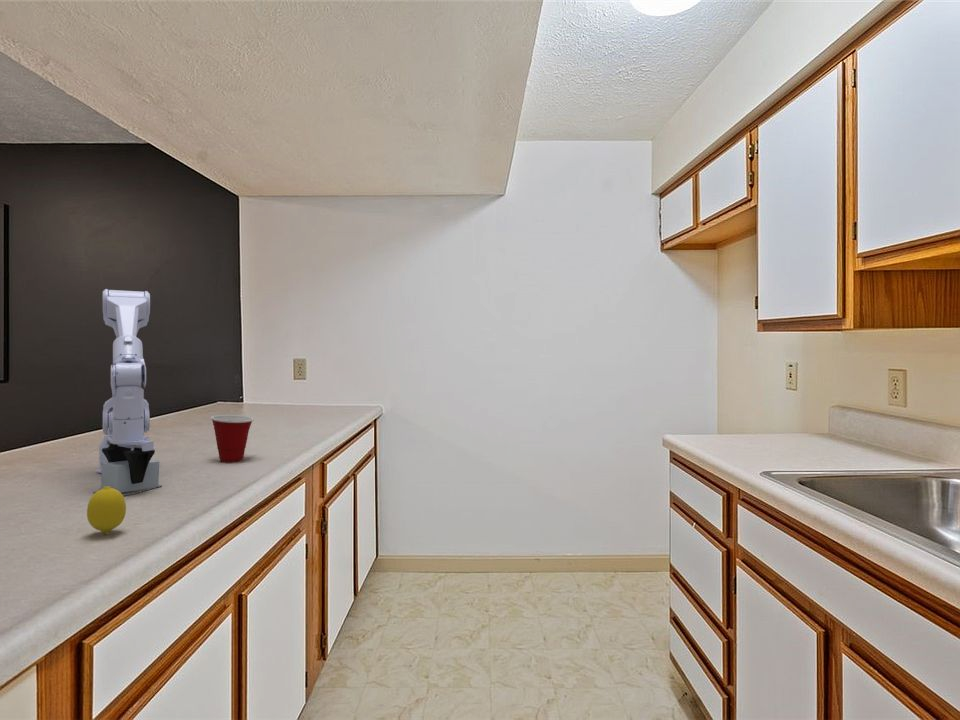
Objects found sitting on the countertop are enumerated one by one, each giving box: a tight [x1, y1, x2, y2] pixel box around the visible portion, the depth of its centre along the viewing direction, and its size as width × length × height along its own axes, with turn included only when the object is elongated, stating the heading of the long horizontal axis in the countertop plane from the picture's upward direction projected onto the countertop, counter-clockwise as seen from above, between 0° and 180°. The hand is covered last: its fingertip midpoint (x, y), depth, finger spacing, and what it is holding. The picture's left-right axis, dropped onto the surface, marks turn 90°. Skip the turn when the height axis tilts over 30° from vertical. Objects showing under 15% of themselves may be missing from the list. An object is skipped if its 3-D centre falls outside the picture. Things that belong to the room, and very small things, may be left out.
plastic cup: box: [210, 414, 255, 463], centre depth 162 cm, size 11×11×12 cm
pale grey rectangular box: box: [100, 459, 160, 493], centre depth 130 cm, size 6×9×6 cm, turn 152°
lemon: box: [86, 486, 127, 535], centre depth 100 cm, size 6×6×8 cm
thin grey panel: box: [93, 484, 161, 497], centre depth 129 cm, size 8×10×1 cm
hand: (128, 481), depth 129 cm, fingers closed on pale grey rectangular box, 6 cm apart
